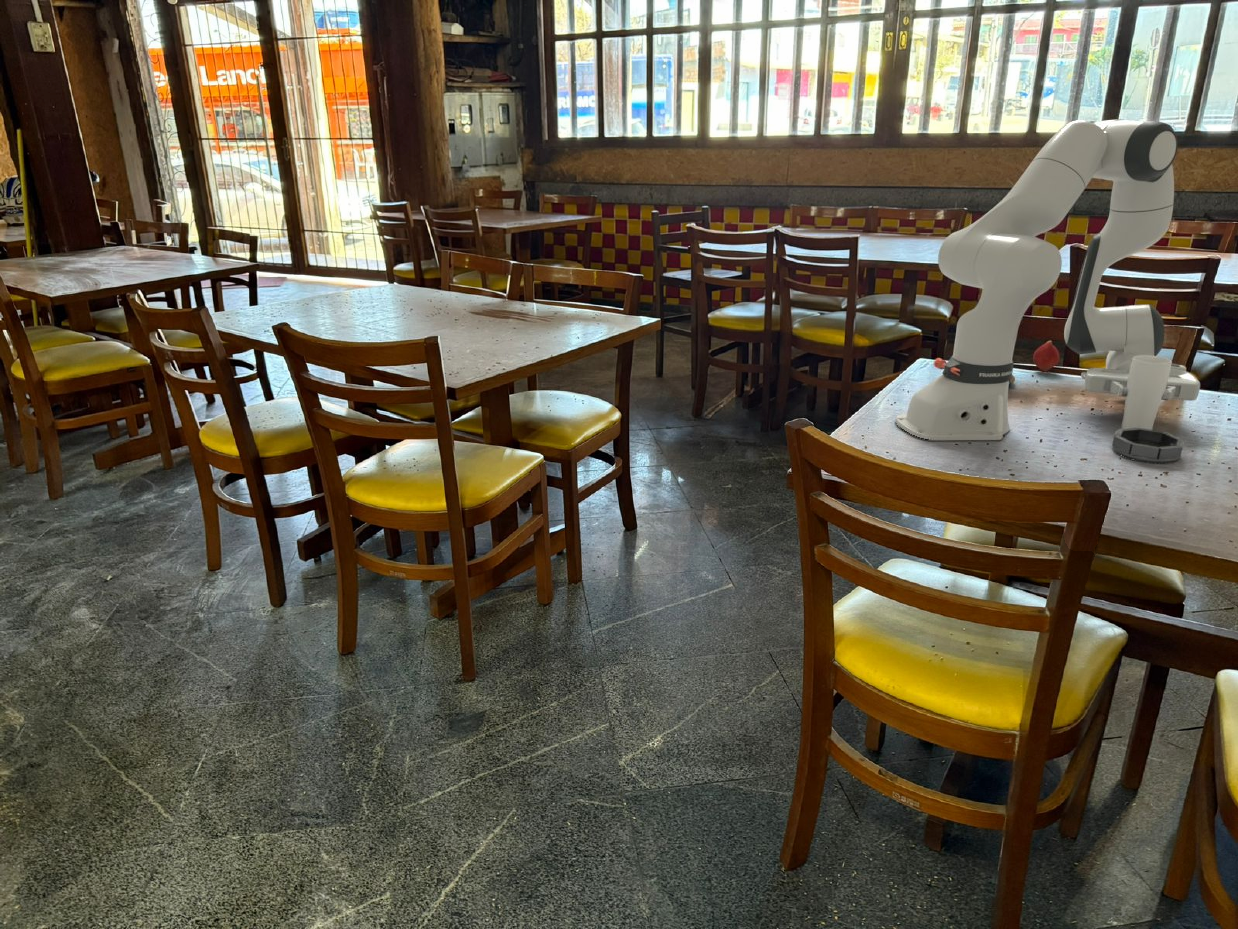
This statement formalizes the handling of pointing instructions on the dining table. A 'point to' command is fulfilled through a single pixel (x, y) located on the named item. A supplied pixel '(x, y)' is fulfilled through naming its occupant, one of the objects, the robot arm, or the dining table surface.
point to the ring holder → (1147, 445)
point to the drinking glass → (1145, 390)
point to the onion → (1046, 356)
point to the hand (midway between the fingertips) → (1145, 394)
